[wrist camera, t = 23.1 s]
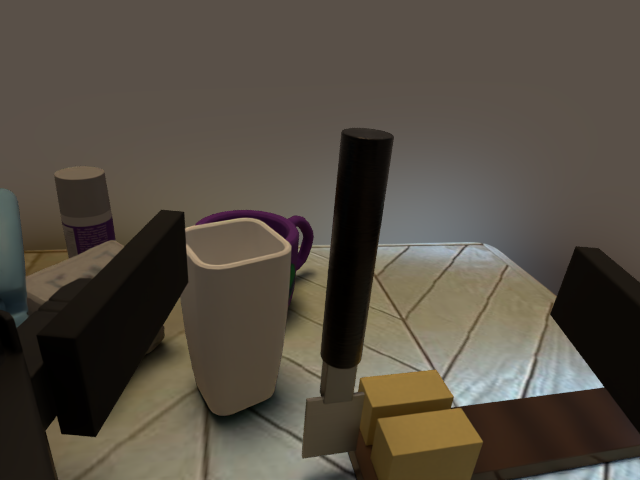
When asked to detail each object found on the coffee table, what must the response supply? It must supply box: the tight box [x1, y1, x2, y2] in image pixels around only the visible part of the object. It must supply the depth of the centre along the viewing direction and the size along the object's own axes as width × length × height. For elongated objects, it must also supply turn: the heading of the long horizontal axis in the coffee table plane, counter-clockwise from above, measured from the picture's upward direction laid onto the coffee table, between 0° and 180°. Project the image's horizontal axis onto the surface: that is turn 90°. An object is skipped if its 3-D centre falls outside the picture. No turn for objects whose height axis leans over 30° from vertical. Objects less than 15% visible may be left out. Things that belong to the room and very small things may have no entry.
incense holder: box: [25, 240, 165, 354], centre depth 38 cm, size 10×8×10 cm
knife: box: [302, 128, 394, 459], centre depth 26 cm, size 4×3×23 cm, turn 103°
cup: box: [180, 218, 291, 416], centre depth 35 cm, size 7×7×15 cm
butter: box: [358, 370, 483, 480], centre depth 32 cm, size 6×7×4 cm
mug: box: [195, 210, 314, 306], centre depth 51 cm, size 17×11×10 cm, turn 142°
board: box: [348, 388, 640, 480], centre depth 36 cm, size 31×6×2 cm, turn 103°
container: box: [54, 166, 115, 259], centre depth 46 cm, size 5×5×15 cm
